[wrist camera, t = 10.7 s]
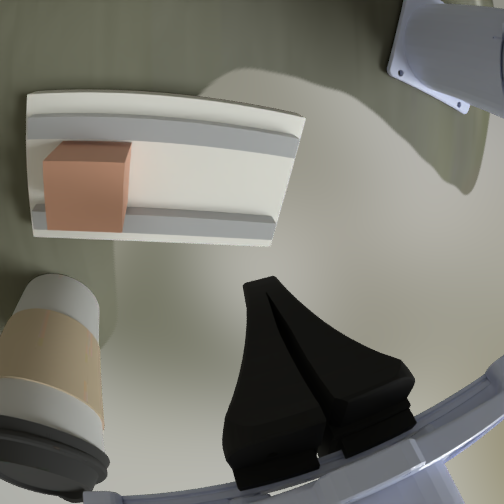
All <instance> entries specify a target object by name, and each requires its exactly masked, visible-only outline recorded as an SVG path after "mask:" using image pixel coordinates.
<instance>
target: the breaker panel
mask: <svg viewBox="0 0 504 504" xmlns="http://www.w3.org/2000/svg"><path fill="white" fill-rule="evenodd" d="M305 120H306V118H305V117H303V116H301V115H299V114H297V113H293V112H289V111H284V110H279V109H274V108H269V107H264V106H259V105H253V104H247V103H242V102H235V101H229V100H222V99H215V98H207V97H200V96H191V95H182V94H172V93H161V92H147V91H130V90H95V89H80V90H46V91H35V92H33V93H30V94H27V111H26V158H27V178H28V191H29V202H30V212H31V220H32V228H33V235H34V237H52V238H78V239H103V240H129V241H151V242H174V243H197V244H219V245H241V246H262V247H270V246H271V242H272V239H273V236H274V232H275V228H276V225H277V221H278V218H279V214H280V211H281V207H282V204H283V200H284V196H285V193H286V189H287V186H288V182H289V179H290V175H291V171H292V168H293V164H294V160H295V157H296V153H297V149H298V146H299V142H300V138H301V135H302V131H303V127H304V124H305ZM62 141H108V142H132V146H131V158H130V171H129V187H128V203H127V209H126V214H125V219H124V225H123V230H122V233H112V232H87V231H60V230H47V221H46V210H45V198H44V183H43V160H44V159H45V158H46V157H47V156H48V155H49V154H50V153H51V152H52V151H53V150H54V149H55V148H56V147H57V146H58V145H59V144H60V143H61V142H62Z"/></svg>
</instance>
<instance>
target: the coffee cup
mask: <svg viewBox="0 0 504 504" xmlns="http://www.w3.org/2000/svg"><path fill="white" fill-rule="evenodd" d="M104 426H105V425H104V416H103V403H102V386H101V363H100V347H99V305H98V302H97V300H96V298H95V296H94V295H93V293H92V292H91V291H90V290H89V289H88V288H87V287H86V286H85V285H84V284H82V283H81V282H79V281H77V280H75V279H73V278H71V277H68V276H65V275H61V274H45V275H41V276H38V277H36V278H34V279H33V280H32V281H30V282H29V284H28V285H27V286H26V288H25V290H24V292H23V294H22V296H21V298H20V300H19V302H18V304H17V306H16V308H15V310H14V312H13V314H12V316H11V317H10V318H9V320H8V321H7V323H6V325H5V327H4V330H3V332H2V334H1V336H0V479H2V480H4V481H6V482H8V483H11V484H13V485H16V486H18V487H21V488H24V489H27V490H31V491H34V492H39V493H43V494H48V495H54V496H59V497H60V498H63V499H64V500H66V501H69V502H72V503H80V502H83V492H84V491H92V490H93V488H94V486H95V484H98V483H100V482H102V481H104V480H105V479H106V477H107V468H108V466H109V463H110V461H109V458H108V456H107V455H106V454H105V448H104V440H103V430H104Z"/></svg>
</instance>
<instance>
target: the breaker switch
mask: <svg viewBox="0 0 504 504" xmlns="http://www.w3.org/2000/svg"><path fill="white" fill-rule="evenodd" d="M131 146H132V142H108V141H62V142H61V143H60V144H59V145H58V146H57V147H56V148H55V149H54V150H53V151H52V152H51V153H50V154H49V155H48V156H47V157H46V158H45V159H44V160H43V183H44V198H45V210H46V221H47V230H60V231H87V232H112V233H122V230H123V225H124V219H125V214H126V209H127V203H128V187H129V171H130V158H131Z"/></svg>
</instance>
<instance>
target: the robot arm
mask: <svg viewBox="0 0 504 504" xmlns="http://www.w3.org/2000/svg"><path fill="white" fill-rule="evenodd" d="M399 70H400V75H398V71H399ZM387 73H388V74H389V75H390V76H391V77H394V78H396V79H398V80H400V81H402V82H404V83H406V84H409V85H411V86H413V87H415V88H417V89H419V90H421V91H423V92H425V93H427V94H428V95H430V96H432V97H434V98H436V99H438V100H440V101H442V102H443V103H445V104H447V105H449V106H450V107H452V108H454V109H456V110H457V111H459V112H461V113H463V114H466V113H467V112H468V110H469V107H470V105H472V106H475V107H477V108H480V109H482V110H485V111H487V112H490V113H492V114H494V115H497V116H500V117H501V118H504V9H502V8H494V7H485V6H475V5H461V4H445V3H444V2H442V1H441V0H404V1H403V5H402V10H401V14H400V18H399V23H398V27H397V31H396V35H395V39H394V43H393V47H392V51H391V55H390V59H389V62H388V66H387ZM457 103H458V105H457ZM243 290H244V296H245V302H246V307H247V326H246V339H245V347H244V354H243V360H242V364H241V369H240V373H239V377H238V381H237V384H236V387H235V391H234V394H233V397H232V400H231V403H230V405H229V408H228V411H227V413H226V416H225V422H224V429H223V438H222V445H223V451H224V455H225V458H226V461H227V462H228V464H229V465H230V467H231V468H232V470H233V473H234V477H235V482H230V483H226V484H221V485H215V486H210V487H204V488H198V489H191V490H184V491H176V492H168V493H160V494H147V495H133V496H121V495H119V494H118V493H115V492H110V491H84V492H83V504H465V502H464V501H463V499H462V497H461V495H460V493H459V491H458V489H457V487H456V485H455V483H454V481H453V480H452V477H451V475H450V474H449V472H448V470H447V468H446V466H445V464H444V463H446V462H447V461H449V460H450V459H451V458H453V457H455V456H456V455H457V454H459V453H461V451H463V450H465V449H466V448H468V447H469V446H470V445H472V444H473V443H474V442H476V441H477V440H478V439H480V438H481V437H482V436H484V435H485V434H486V433H488V432H489V431H490V430H491V429H493V428H494V427H495V426H496V425H498V424H499V423H500V422H501V421H502V420H504V355H503V356H502V357H500V358H499V359H497V360H496V361H495V362H494V363H492V364H491V365H490V367H489V368H488V369H487V371H486V372H485V374H484V375H482V376H481V377H480V378H478V379H477V380H475V381H474V382H472V383H471V384H469V385H468V386H466V387H464V388H463V389H461V390H460V391H458V392H456V393H455V394H453V395H452V396H450V397H448V398H447V399H445V400H443V401H441V402H440V403H438V404H436V405H435V406H433V407H431V408H429V409H427V410H426V411H424V412H422V413H420V414H419V415H416V416H413V414H412V413H411V411H410V409H409V407H410V406H411V405H410V403H409V401H408V399H407V397H408V395H409V393H410V392H411V390H412V388H413V386H414V383H415V378H414V377H413V375H412V373H411V372H410V370H409V369H408V368H407V367H406V365H405V364H404V363H403V362H402V361H401V360H400V359H397V358H394V357H391V356H388V355H385V354H382V353H380V352H377V351H375V350H373V349H370V348H368V347H366V346H364V345H362V344H360V343H358V342H356V341H354V340H352V339H350V338H349V337H347V336H345V335H343V334H342V333H340V332H339V331H337V330H336V329H334V328H332V327H331V326H330V325H328V324H327V323H325V322H324V321H323V320H321V319H320V318H319V317H317V316H316V315H315V314H314V313H312V312H311V311H310V310H309V309H308V308H306V307H305V306H304V305H303V304H302V303H301V302H300V301H298V300H297V299H296V298H295V297H294V296H293V295H292V294H291V293H290V292H289V291H288V290H287V289H286V288H285V287H284V286H283V285H282V284H281V282H280V281H279V280H278V279H277V278H276V277H275V276H271V277H267V278H263V279H259V280H255V281H251V282H247V283H245V284H244V285H243ZM317 453H318V456H319V458H317ZM316 478H319V479H318V480H316V481H313V482H310V483H308V484H305V485H303V486H300V487H298V488H294V489H292V490H289V491H286V492H283V493H280V494H277V495H274V496H270V494H267V493H270V492H274V491H278V490H281V489H285V488H288V487H292V486H295V485H298V484H301V483H304V482H307V481H311V480H314V479H316Z"/></svg>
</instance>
